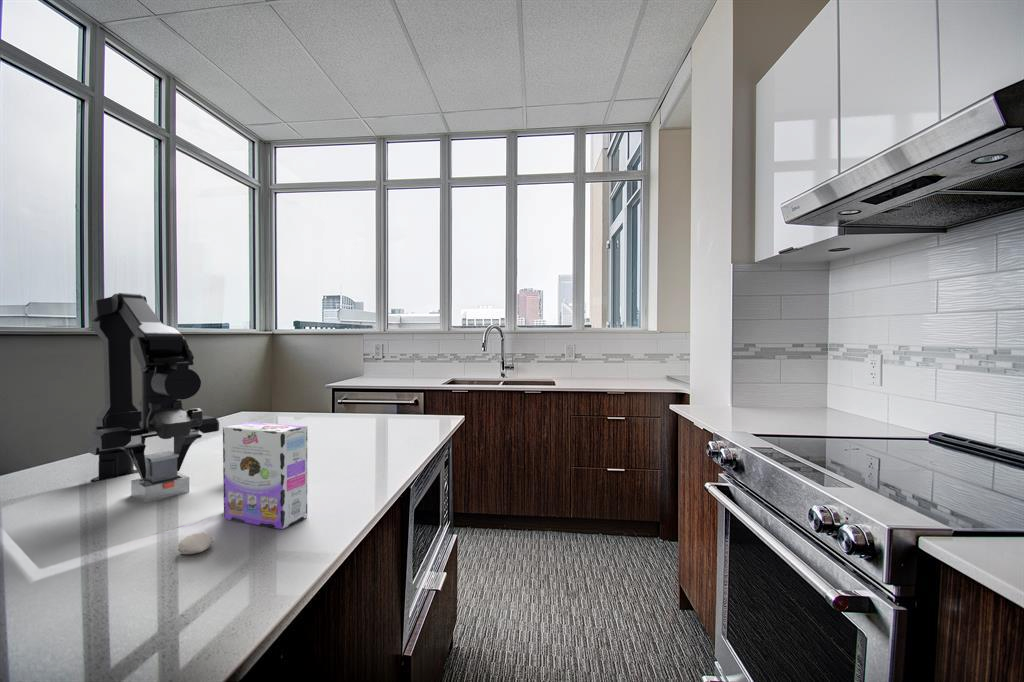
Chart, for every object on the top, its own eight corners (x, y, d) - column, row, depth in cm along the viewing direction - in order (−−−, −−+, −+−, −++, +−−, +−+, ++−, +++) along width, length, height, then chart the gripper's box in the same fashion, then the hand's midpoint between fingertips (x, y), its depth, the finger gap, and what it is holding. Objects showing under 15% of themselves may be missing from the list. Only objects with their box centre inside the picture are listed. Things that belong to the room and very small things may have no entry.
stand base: (109, 502, 83) (109, 481, 83) (183, 484, 94) (183, 466, 94) (133, 516, 77) (133, 494, 77) (209, 495, 87) (209, 475, 87)
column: (141, 494, 85) (141, 455, 85) (169, 487, 88) (169, 450, 88) (150, 499, 82) (150, 459, 82) (179, 492, 86) (179, 454, 86)
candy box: (309, 517, 77) (309, 425, 77) (281, 531, 72) (282, 431, 72) (251, 507, 82) (251, 419, 82) (221, 519, 76) (221, 425, 76)
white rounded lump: (208, 543, 68) (208, 526, 68) (219, 553, 65) (219, 536, 65) (174, 553, 64) (174, 536, 64) (184, 564, 61) (184, 547, 61)
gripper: (112, 405, 73) (112, 497, 73) (232, 393, 89) (232, 469, 89) (91, 399, 79) (91, 485, 79) (206, 389, 95) (206, 460, 95)
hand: (160, 474), depth 85 cm, fingers open, 5 cm apart
